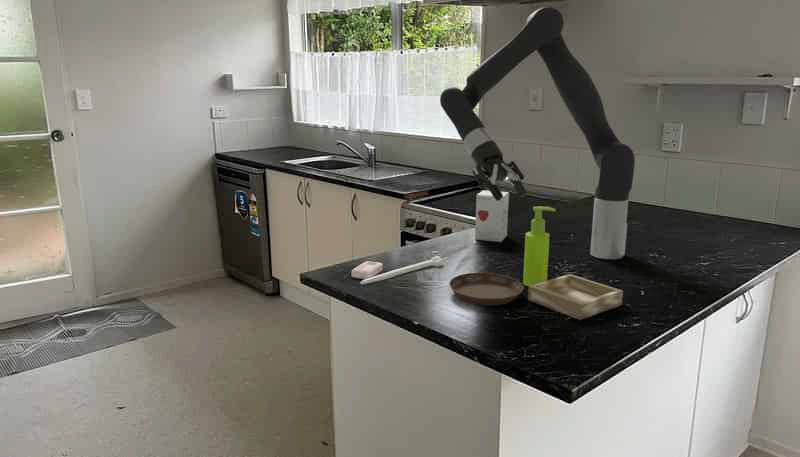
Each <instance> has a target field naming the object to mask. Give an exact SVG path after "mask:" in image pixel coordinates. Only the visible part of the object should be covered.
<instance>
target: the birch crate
mask: <svg viewBox="0 0 800 457" xmlns="http://www.w3.org/2000/svg"><path fill="white" fill-rule="evenodd" d="M527 291H528V294H527V301H530V302H532V303H535V304H537V305H539V306H543V307H545V308H548V309H550V310H553V311H555V312H557V313H561V314H564V315H567V316H569V317H572V318H574V319H577V320H579V321H581V320H584V319H587V318H590V317H593V316H595V315H598V314H600V313H603V312H606V311H610V310H613V309H615V308H618V307H620V306H622V305H623V296H624V291H623V290H622V289H619V288H616V287H613V286H609V285H606V284H603V283H600V282H596V281H593V280H592V279H591V280H590V279H587V278H583V277H581V276H577V275H574V274H571V273H570V274H569V273H568V274H566V275H562V276H558V277H555V278H551V279H547V281H544V282H541V283H537V284H534V285H530V286H529V287H528V289H527Z"/></svg>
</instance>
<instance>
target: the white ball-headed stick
mask: <svg viewBox="0 0 800 457" xmlns="http://www.w3.org/2000/svg"><path fill="white" fill-rule="evenodd" d="M442 266H444V260H443V259H442V257H440V256H438V255H437V256H433V257H431V259H429V260H428V259H427V260H424V261H421V262H419V263H414V264H411V265H408V266H405V267H400V268H397V269H393V270H390V271H387V272H385V273H384V272H383V273H380V274H376V275H375V276H374V277H371V278H368V279H363V280H361V281H360V282H359V283H360V285H368V284H372V283H375V282H380V281H383V280H386V279H391V278H393V277H396V276H399V275H403V274H406V273H409V272H413V271H417V270H421V269H424V268H429V267H442Z"/></svg>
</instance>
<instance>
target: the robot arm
mask: <svg viewBox="0 0 800 457" xmlns="http://www.w3.org/2000/svg"><path fill="white" fill-rule="evenodd" d="M564 23H565V22H564V18H563V14H562V13H561V12H560V11H559V9H557V8H555V7H552V6H545V7H539V8H538V9H537V10H535V11H534V12H532V13H530V15H529V16H528V17H527V19H526V21H525V25H524V26H523V28H522V29H521V30H520V31H519V32H518V33H517V34H516V35H515V36H514V37H513V38H511V40H510V41H509V42H507V43H506V44H505V45H504V46H502V47H501V48H500V49H498V50H496V51H495V52H494V53H493V54H491V55H490V56H489V57H488V58H487V59H485V60H484V61H483V62H482V63H481V64H480V65H478V66H477V67H476V68H475V69H474V70H473V71H471V73H469V75H468V76H467V77H466V85H465V87H464V88H463V89H460V88H459V87H456V86H449V87H447V88H445V89H444V90H443V91H442V92H441V94H440V97H439V102H440V106H441V108H442V110H443V111H444V113H445V114H446V116H447V117H448V118H449V120H450V121H451V122H452V125H453V126H454V127H455V129H456V132H457V133H458V135H459V137H460V138H461V140H462V142H463V144H464V146H465V148H466V150H467V153H468V154H469V155H470V157H471V159H472V161H473V162H474V164H475V166H474V168H473V169H472V174H473V175H474V178H475V180H476V182H477V183H478V185H479V187H480V188H481V189H482V190H484V189H486V190H487V191H490V192H491V194H492V195H493V197H494V198H495V199H496V201H499V200H500V199H501V198H502V197H503V195H502V193H501V192H502V191H501V190H500V188H499V187H498V185H497V184H496V182H497V181H503V182H505V183H509V184H511V185H512V187H513V188H514V190H515V192H516V193H517V195H518V197H519V198H523V197H524V196H525V195H526V194H527V189H526V188H525V186H524V185H523V184H522V181H523V180H524V179H525V175H524V174H523V172H522V171H521V170H520V168H519V166H517V164H516V162H515V161H513V160H511V161H510V162H509V163H506V162H505V161H504V159H503V156H504V155H503V152H502V150H501V149H500V147H499V145H498V144H497V143H496V140H495V139H494V138H493V135H491V133H490V132H489V131H488V130H487V128H486V127H485V125H484V124H483V123H484V122H482V121H481V120H482V119H480V117H479V116H478V115H477V113H475V111H474V109H475V108H476V107H477V105H478V104H479V103H480V102H481V100H482V99H483V98H484V96H485V95H486V94H488V92H490V91H491V90H492V89H493V88H494V87H495V86H496V85H498V84H499V83H500V82H501V81H503V79H504V78H505V77H506V76H508V74H510V72H511V71H513V70H514V69H515V68H516V67H517V66H518V65H519V64H520V63H522V62H523V61H524V60H526V58H528V57H529V56H530V55H531V54H533V53H534V52H535V51H536V52H537V53H538V55H540V57H541V59H542V61H543V62H544V64H545V66H546V68H547V70H548V72H549V74H550V77H551V79H552V81H553V82H554V83H553V84H554V86H555V88H556V89H557V91H558V93H559V95H560V96H559V97H561V99H562V101H563V103H564V105H565V106H566V108H567V110H568V112H569V113H570V115H571V117H572V119H573V120H574V122H575V123H576V125H577V126H578V127H579V129H580V131H581V132H582V134H583V135H584V137H585V140H586V141H587V144H588V146H589V149H590V152H591V154H592V156H593V159H594V161H595V163H596V166H597V168H598V169H599V177H598V178H599V179H598V184H597V186H596V188H595V189H594V190H595V191H594V199H593V202H594V203H593V214H592V216H593V217H592V226H591V228H592V229H591V239H590V240H591V242H590V251H589V252H590V255H591V256H593V257H594V258H598V259H603V260H619V259H622V258H623V257H624V256H625V255H626V245H627V244H626V243H627V234H628V223H627V217H628V207H629V206H628V205H629V196H630V192H631V190H632V188H633V187H632V186H633V180H634V173H635V162H636V160H635V158H636V157H635V154H634V151H633V150H632V148H631V147H630V146H628V145H627V144H624V143H622V142H621V141H620V140H619V139H618V137H617V135H616V134H615V132H614V131H613V129H612V127H611V126H610V123H609V122H608V119H607V116H606V112H605V109H604V104H603V101H602V98H601V95H600V93H599V91H598V89H597V87H596V85H595V83H594V82H593V79H592V78H591V76H590V74H589V73H588V72H587V70H586V69H585V68H584V66H583V65H582V64H581V63H580V62H579V61H578V59H577V58H576V57H575V56H573V54H572V52H571V51H570V49H569V48H568V45H567V44H566V42H565V39H564V37H563V35H562V31H563V28H564V25H565V24H564ZM508 174H509V175H508Z"/></svg>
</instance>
